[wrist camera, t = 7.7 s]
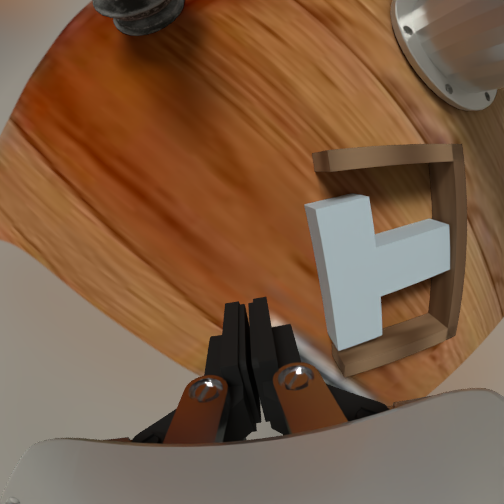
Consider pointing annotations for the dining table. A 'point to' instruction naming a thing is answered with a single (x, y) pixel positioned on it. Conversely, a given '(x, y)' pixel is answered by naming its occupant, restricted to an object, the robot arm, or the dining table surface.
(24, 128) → the dining table surface
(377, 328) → the t block
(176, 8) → the grey stone statue
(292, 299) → the dining table surface
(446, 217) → the corral
